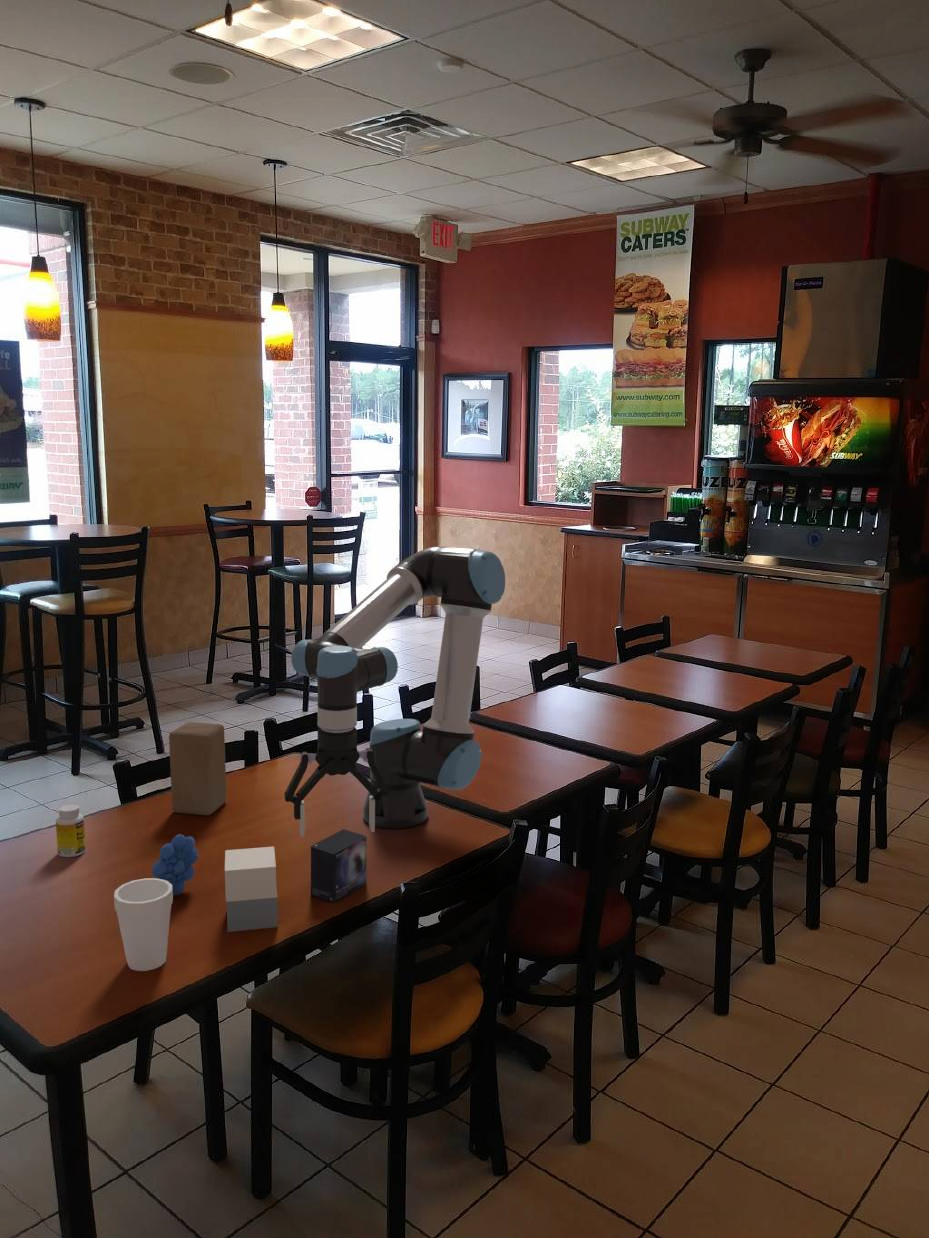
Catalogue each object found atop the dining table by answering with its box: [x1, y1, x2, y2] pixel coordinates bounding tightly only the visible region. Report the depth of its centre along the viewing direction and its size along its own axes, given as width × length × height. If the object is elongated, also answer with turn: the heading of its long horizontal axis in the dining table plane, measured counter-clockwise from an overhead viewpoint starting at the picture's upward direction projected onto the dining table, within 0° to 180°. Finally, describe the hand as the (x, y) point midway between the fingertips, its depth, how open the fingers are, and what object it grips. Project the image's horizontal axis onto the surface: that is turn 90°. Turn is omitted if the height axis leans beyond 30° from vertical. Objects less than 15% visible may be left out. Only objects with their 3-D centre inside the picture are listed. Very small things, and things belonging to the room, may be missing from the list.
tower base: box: [226, 888, 279, 933], centre depth 184 cm, size 9×9×6 cm
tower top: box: [224, 846, 278, 903], centre depth 183 cm, size 9×9×6 cm
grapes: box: [151, 833, 199, 896], centre depth 193 cm, size 12×7×12 cm, turn 151°
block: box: [168, 721, 228, 816], centre depth 236 cm, size 10×10×20 cm
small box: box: [309, 828, 368, 904], centre depth 195 cm, size 11×6×10 cm, turn 148°
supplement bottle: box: [55, 804, 86, 858], centre depth 211 cm, size 6×6×10 cm
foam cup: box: [113, 877, 174, 972], centre depth 168 cm, size 10×9×13 cm
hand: (337, 832), depth 194 cm, fingers open, 13 cm apart
